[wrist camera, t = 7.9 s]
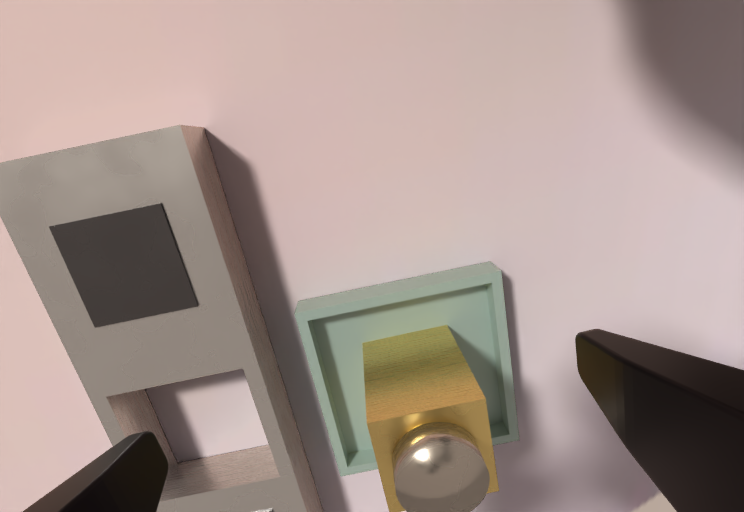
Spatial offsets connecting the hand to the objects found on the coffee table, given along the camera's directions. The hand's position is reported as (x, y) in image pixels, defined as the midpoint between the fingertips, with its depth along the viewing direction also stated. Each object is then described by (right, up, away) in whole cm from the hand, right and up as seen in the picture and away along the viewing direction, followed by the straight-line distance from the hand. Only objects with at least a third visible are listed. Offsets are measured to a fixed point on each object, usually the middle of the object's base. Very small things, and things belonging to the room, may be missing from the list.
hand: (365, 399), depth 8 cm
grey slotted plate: (-9, -3, +13) cm, 16 cm away
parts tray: (+2, -3, +13) cm, 14 cm away
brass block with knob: (+2, -3, +13) cm, 13 cm away
